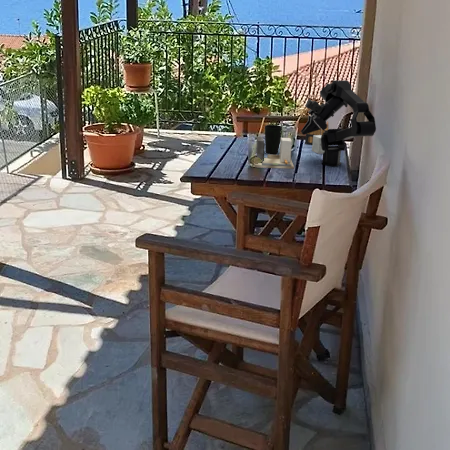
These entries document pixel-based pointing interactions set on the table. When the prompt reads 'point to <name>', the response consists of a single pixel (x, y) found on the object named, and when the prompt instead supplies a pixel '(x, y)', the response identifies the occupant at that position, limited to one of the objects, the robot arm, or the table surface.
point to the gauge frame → (269, 158)
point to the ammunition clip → (310, 135)
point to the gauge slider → (285, 150)
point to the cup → (272, 138)
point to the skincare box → (317, 144)
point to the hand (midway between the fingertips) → (301, 133)
